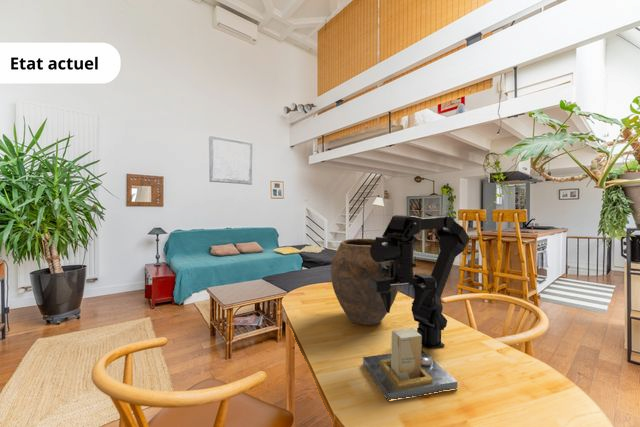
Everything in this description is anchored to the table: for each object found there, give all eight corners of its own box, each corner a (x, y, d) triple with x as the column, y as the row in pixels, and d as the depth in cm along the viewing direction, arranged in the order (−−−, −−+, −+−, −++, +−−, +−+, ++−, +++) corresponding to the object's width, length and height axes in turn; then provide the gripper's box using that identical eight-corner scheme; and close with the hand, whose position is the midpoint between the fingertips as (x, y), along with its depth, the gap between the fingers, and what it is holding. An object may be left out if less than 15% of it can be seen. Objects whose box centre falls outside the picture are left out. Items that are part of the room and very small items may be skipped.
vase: (322, 328, 99) (321, 244, 98) (340, 303, 124) (340, 236, 122) (398, 340, 90) (398, 248, 89) (401, 310, 115) (402, 238, 114)
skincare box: (398, 387, 67) (399, 338, 67) (389, 376, 71) (390, 330, 71) (422, 383, 69) (422, 334, 68) (411, 372, 73) (412, 327, 73)
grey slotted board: (420, 356, 81) (421, 345, 81) (457, 389, 66) (457, 377, 66) (363, 364, 77) (363, 353, 77) (388, 402, 62) (388, 389, 62)
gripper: (416, 252, 91) (415, 299, 91) (362, 254, 86) (362, 304, 87) (437, 259, 80) (436, 312, 80) (377, 262, 76) (377, 318, 76)
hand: (402, 311), depth 81 cm, fingers open, 9 cm apart
